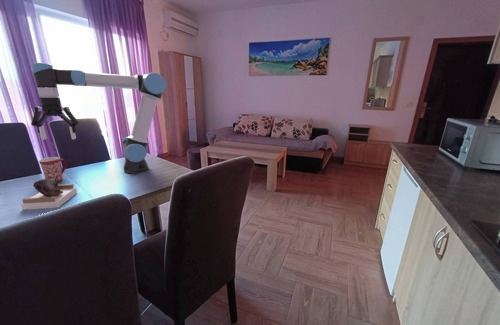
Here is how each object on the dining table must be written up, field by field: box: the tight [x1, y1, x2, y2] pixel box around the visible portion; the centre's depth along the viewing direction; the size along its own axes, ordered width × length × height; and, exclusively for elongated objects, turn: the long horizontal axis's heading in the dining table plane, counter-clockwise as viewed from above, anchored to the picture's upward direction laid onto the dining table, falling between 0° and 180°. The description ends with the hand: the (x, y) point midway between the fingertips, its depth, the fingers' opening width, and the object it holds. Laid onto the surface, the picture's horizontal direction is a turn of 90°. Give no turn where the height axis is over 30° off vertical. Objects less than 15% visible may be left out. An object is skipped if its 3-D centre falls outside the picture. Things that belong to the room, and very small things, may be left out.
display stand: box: [20, 183, 78, 211], centre depth 107 cm, size 14×16×5 cm
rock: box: [33, 178, 63, 196], centre depth 106 cm, size 12×9×10 cm
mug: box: [38, 156, 67, 183], centre depth 131 cm, size 13×9×14 cm
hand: (59, 139), depth 117 cm, fingers open, 13 cm apart
